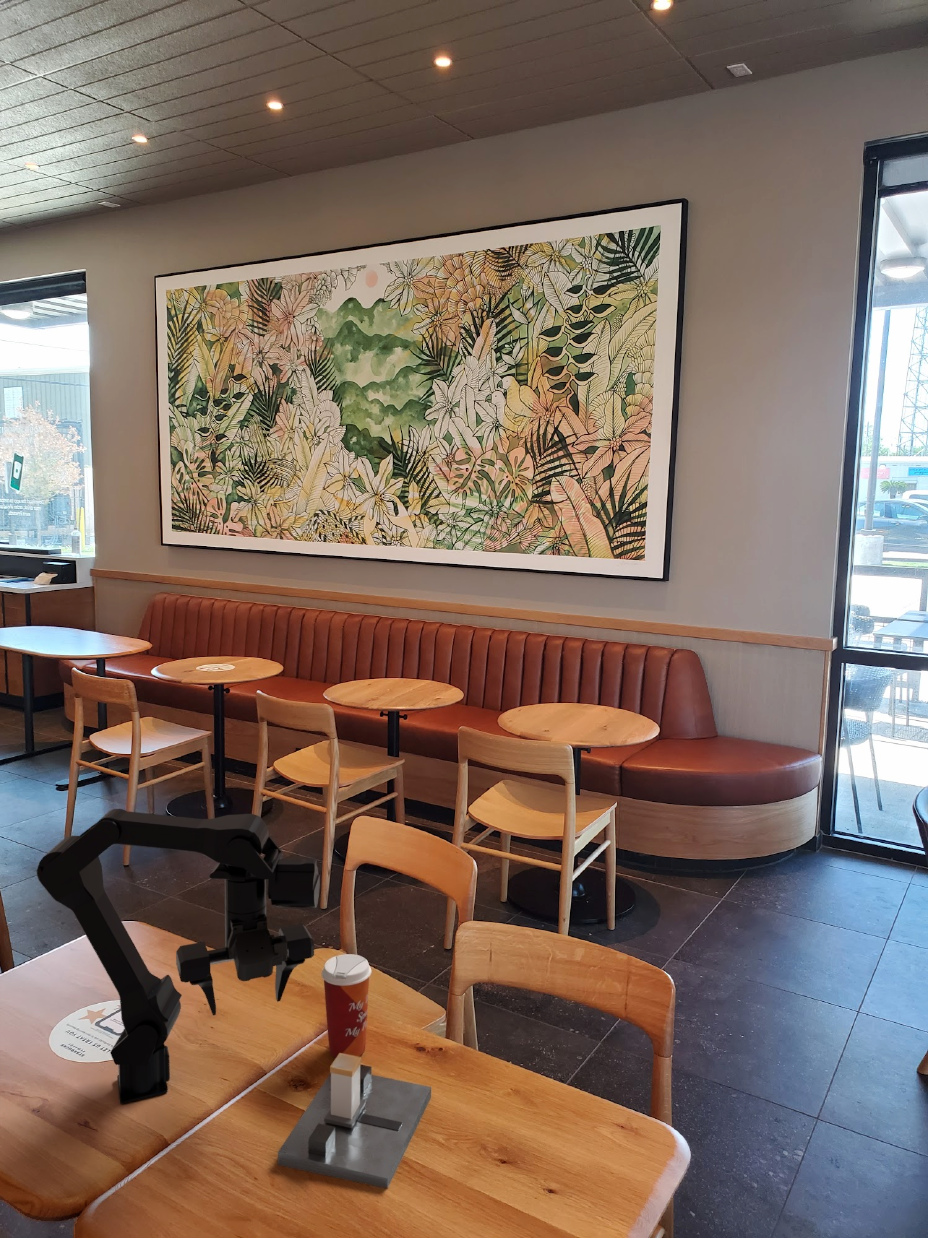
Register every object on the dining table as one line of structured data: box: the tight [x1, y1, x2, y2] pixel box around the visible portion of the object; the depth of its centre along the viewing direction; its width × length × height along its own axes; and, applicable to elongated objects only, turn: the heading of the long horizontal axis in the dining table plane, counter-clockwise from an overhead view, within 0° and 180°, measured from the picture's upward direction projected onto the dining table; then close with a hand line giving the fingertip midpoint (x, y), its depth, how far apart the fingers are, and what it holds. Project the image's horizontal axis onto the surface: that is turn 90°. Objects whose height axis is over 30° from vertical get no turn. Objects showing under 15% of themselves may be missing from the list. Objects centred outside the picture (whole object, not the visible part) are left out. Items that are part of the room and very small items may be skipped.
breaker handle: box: [324, 1053, 366, 1128], centre depth 120 cm, size 4×5×8 cm
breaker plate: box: [277, 1063, 432, 1189], centre depth 120 cm, size 15×18×4 cm
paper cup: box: [321, 953, 372, 1059], centre depth 137 cm, size 8×8×14 cm
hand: (246, 1007), depth 127 cm, fingers open, 9 cm apart
